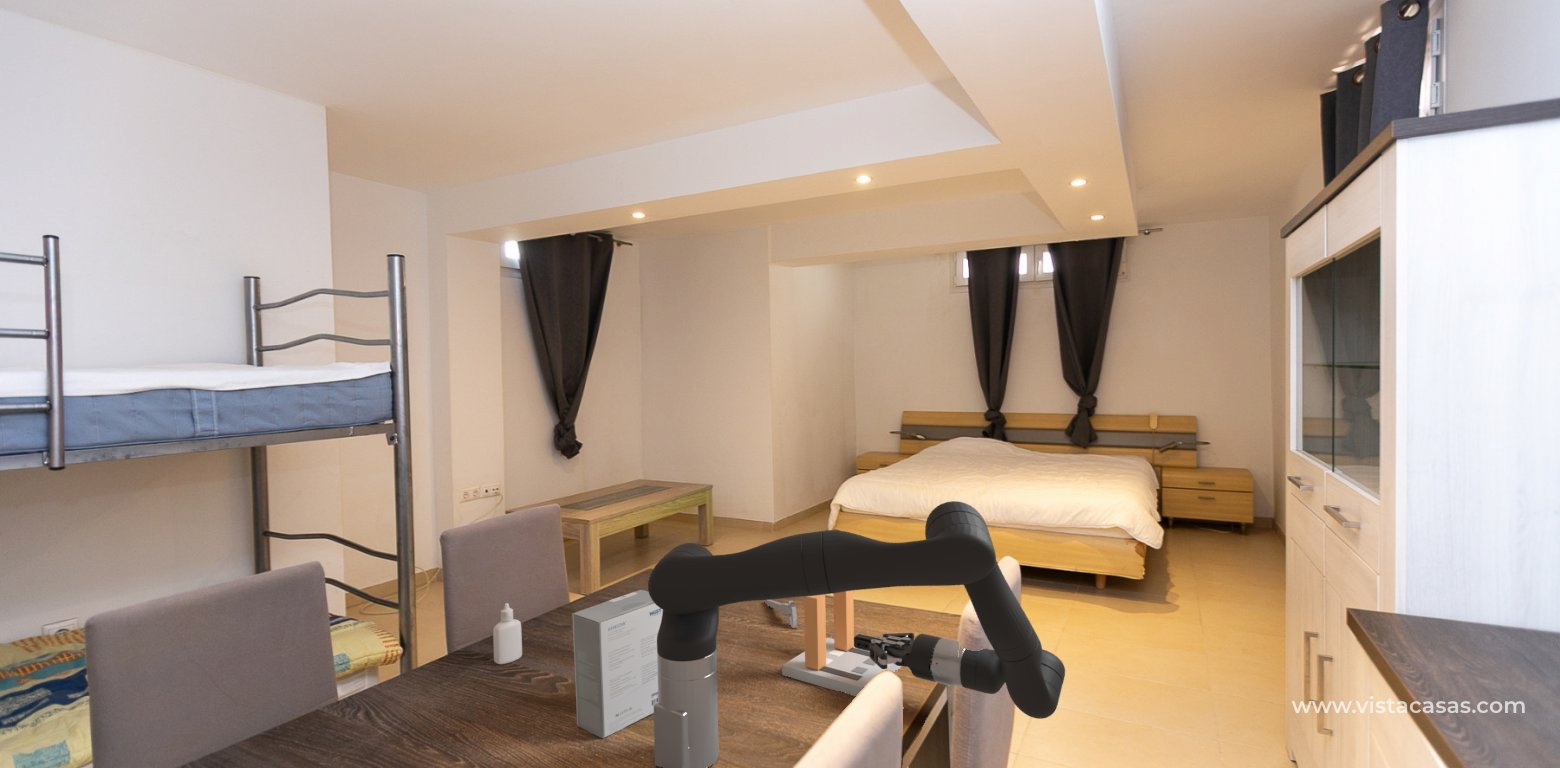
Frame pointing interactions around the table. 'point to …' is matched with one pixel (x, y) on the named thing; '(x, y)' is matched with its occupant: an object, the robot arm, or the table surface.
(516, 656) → the eye dropper bottle
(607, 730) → the hard drive box
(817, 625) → the switch tab
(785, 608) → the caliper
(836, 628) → the switch tab
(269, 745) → the table surface
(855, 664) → the switch panel
